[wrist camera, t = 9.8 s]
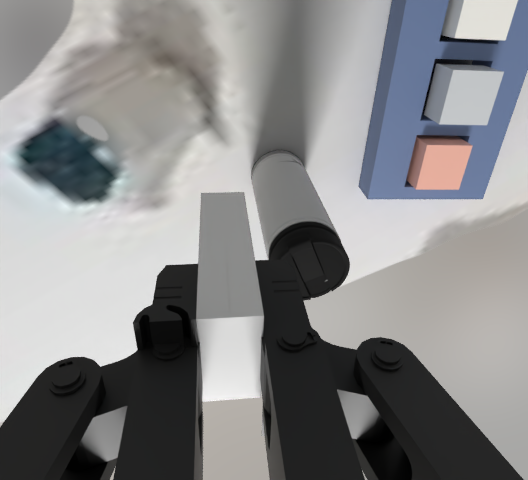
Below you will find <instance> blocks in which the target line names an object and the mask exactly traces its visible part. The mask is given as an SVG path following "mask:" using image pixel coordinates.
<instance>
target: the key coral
mask: <svg viewBox="0 0 528 480" xmlns="http://www.w3.org/2000/svg"><path fill="white" fill-rule="evenodd" d="M471 149H472V145H471V144H469V143H468V142H466V141H464V140H463V139H461V138H460V137H458V136H449V135H417V136H416V140H415V144H414V149H413V153H412V157H411V161H410V165H409V169H408V174H407V178H406V180H407V181H408V182H409V183H410V184H411V185H412V186H413V187H414V188H415V189H416V190H459V188H460V185H461V181H462V178H463V175H464V172H465V169H466V165H467V162H468V159H469V156H470V153H471Z"/></svg>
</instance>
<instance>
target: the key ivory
mask: <svg viewBox="0 0 528 480" xmlns="http://www.w3.org/2000/svg"><path fill="white" fill-rule="evenodd" d="M517 2H518V0H449V2H448V7H447V11H446V15H445V19H444V23H443V28H442V32H441V35H443V36H447V37H452V38H461V39H483V40H504V41H505V40H506V37H507V34H508V31H509V28H510V24H511V21H512V18H513V15H514V12H515V8H516V5H517Z"/></svg>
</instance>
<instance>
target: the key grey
mask: <svg viewBox="0 0 528 480" xmlns="http://www.w3.org/2000/svg"><path fill="white" fill-rule="evenodd" d="M503 74H504V72H503V71H500V70H497V69H494V68H491V67H487V66H484V65H462V64H437V63H436V67H435V71H434V75H433V79H432V83H431V87H430V91H429V96H428V100H427V104H426V108H425V112H424V115H425V116H427V117H428V118H430V119H432V120H433V121H435V122H436V123H438V124H448V125H487V124H488V121H489V117H490V114H491V111H492V108H493V105H494V102H495V99H496V96H497V93H498V89H499V86H500V83H501V80H502V77H503Z"/></svg>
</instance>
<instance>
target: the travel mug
mask: <svg viewBox="0 0 528 480" xmlns="http://www.w3.org/2000/svg"><path fill="white" fill-rule="evenodd" d="M251 179H252V185H253V190H254V195H255V200H256V205H257V210H258V215H259V219H260V224H261V229H262V234H263V239H264V244H265V249H266V254H267V258H268V260H285V261H286V262H287V263H288V264H289V265H290V266H291V267H292V268H293V269H294V271H295V274H296V278H297V282H298V285H299V288H300V292H301V295H302V298H303V300H310V299H311V298H315V297H319V296H322V295H324V294H326V293H328V292H329V291H330V290H332V291H333V290H335V289H336V288H338V287H339V286H340V285H341V284H342V283H343V282H344V280H345V279H346V277H347V275H348V272H349V267H350V262H349V258H348V256H347V254H346V252H345V250H344V248H343V246H342V244H341V240H340V238H339V236H338V234H337V232H336V230H335V228H334V226H333V224H332V222H331V220H330V218H329V216H328V214H327V212H326V210H325V208H324V206H323V204H322V202H321V200H320V198H319V196H318V194H317V192H316V190H315V188H314V186H313V184H312V182H311V180H310V178H309V176H308V174H307V172H306V170H305V168H304V166H303V164H302V162H301V161H300V159H299V158H298V157H297V156H295V155H294V154H292V153H290V152H287V151H281V150H278V151H272V152H269V153H267V154H265V155H263V156H262V157H261V158H260V159H259V160H258V161H257V162H256V164H255V165H254V167H253V170H252V176H251Z"/></svg>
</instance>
